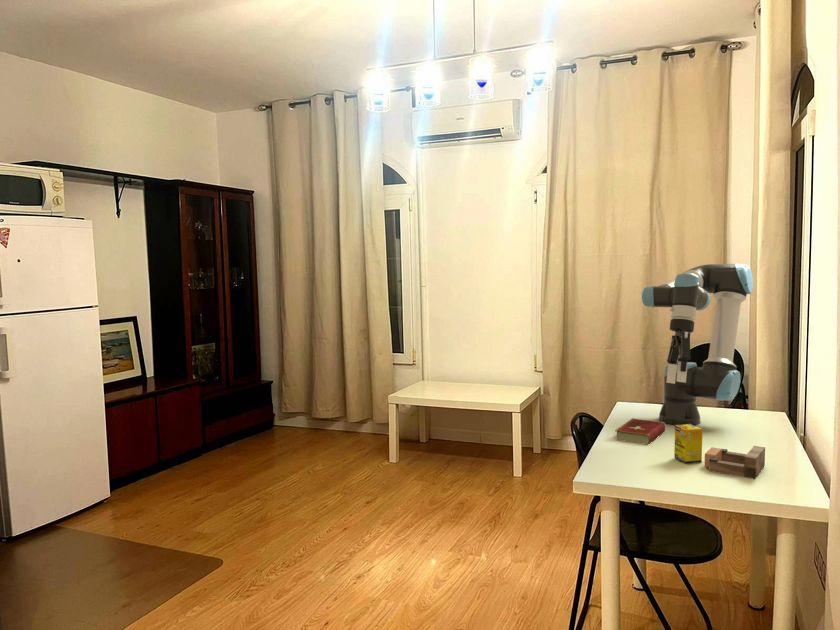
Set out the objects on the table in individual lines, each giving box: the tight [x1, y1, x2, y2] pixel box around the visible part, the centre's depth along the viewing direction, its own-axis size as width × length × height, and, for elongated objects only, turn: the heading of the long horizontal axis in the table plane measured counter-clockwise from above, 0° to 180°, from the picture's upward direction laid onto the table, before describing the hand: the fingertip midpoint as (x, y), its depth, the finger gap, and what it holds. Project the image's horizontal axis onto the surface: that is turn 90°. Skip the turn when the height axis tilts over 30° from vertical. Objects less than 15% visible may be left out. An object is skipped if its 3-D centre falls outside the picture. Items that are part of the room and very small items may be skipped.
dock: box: [708, 445, 766, 480], centre depth 193 cm, size 14×12×6 cm
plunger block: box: [704, 446, 723, 468], centre depth 197 cm, size 8×3×4 cm, turn 142°
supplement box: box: [673, 424, 703, 465], centre depth 201 cm, size 6×6×11 cm
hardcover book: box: [614, 418, 666, 445], centre depth 232 cm, size 12×21×4 cm, turn 145°
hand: (675, 382), depth 212 cm, fingers open, 13 cm apart
